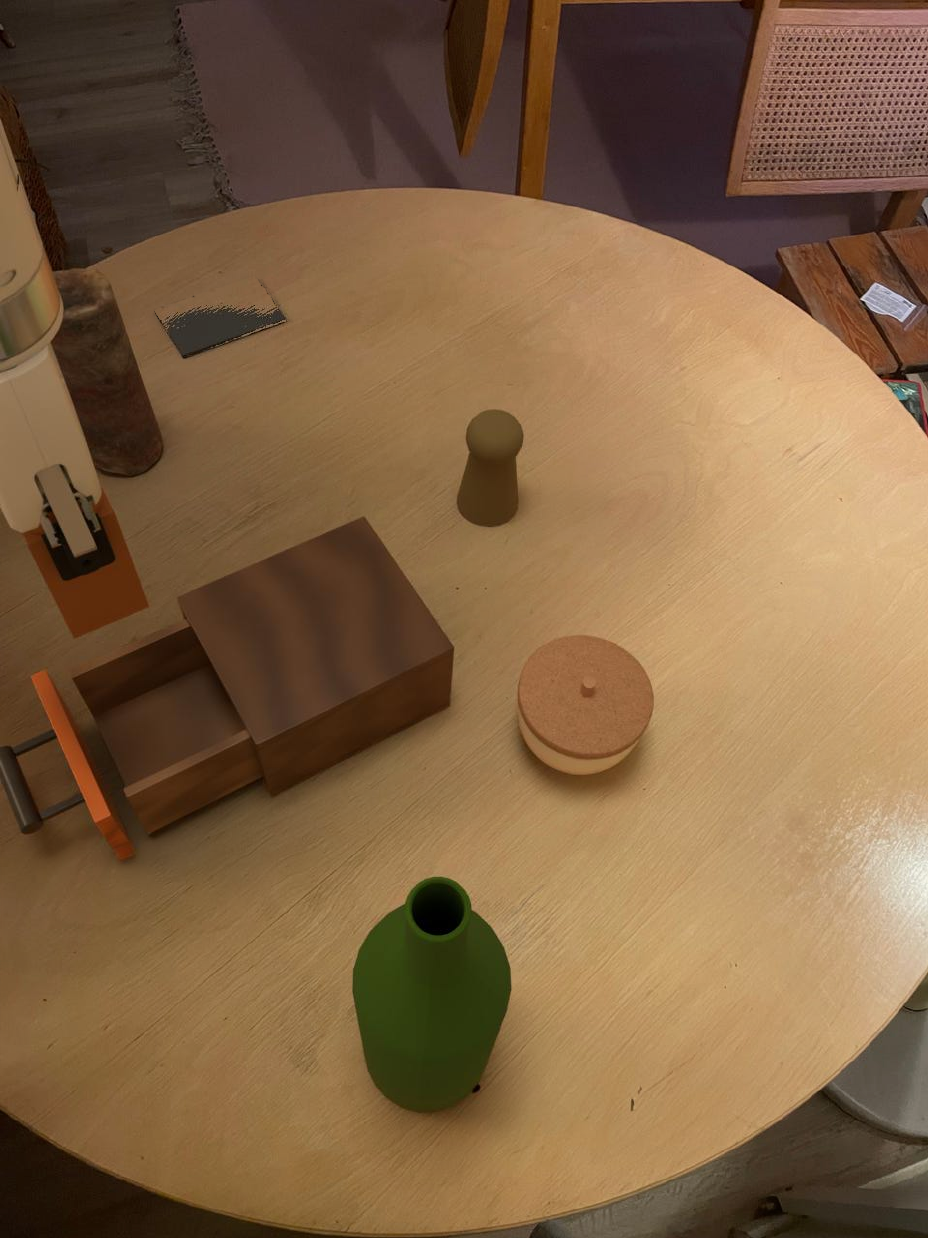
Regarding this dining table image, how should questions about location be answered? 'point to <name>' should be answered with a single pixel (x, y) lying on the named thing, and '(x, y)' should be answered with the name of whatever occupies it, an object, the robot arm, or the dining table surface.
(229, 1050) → the dining table surface
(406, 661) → the cabinet
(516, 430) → the chess pawn piece
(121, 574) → the tall orange block
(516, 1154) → the dining table surface
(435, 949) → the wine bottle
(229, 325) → the mat
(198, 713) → the drawer
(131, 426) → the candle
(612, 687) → the trinket box
